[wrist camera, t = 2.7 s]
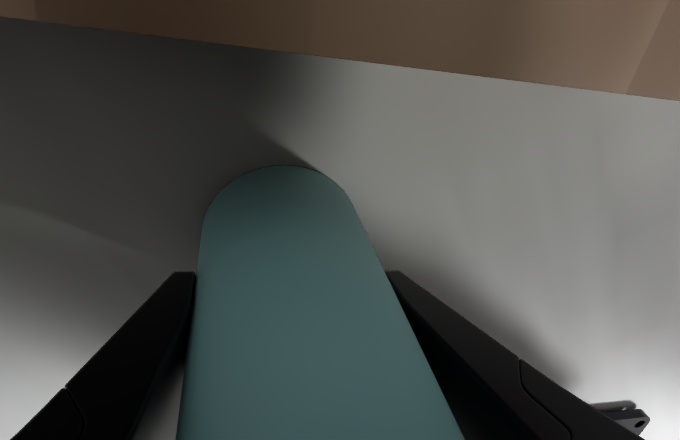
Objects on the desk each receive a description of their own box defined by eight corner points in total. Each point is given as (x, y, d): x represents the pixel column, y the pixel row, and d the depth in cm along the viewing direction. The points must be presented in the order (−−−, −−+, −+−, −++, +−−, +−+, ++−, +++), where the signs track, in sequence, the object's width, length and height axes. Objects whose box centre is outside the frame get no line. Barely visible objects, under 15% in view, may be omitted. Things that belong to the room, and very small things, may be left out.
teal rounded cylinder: (369, 170, 11) (594, 523, 4) (345, 295, 13) (468, 674, 6) (201, 160, 10) (124, 610, 3) (201, 297, 12) (156, 757, 5)
